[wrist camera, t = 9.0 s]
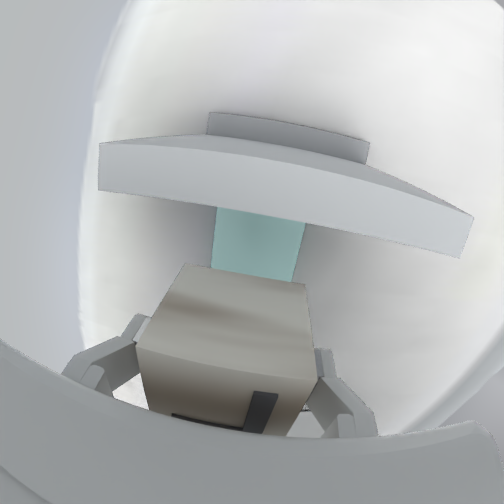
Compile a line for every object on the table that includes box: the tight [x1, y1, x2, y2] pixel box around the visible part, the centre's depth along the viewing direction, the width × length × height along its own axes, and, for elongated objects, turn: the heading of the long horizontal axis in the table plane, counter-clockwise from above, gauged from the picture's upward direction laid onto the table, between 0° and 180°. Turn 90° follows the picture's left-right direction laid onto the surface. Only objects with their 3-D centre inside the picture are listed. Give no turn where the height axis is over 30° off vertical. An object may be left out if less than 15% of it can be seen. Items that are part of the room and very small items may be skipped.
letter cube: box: [135, 263, 318, 436], centre depth 10 cm, size 5×5×5 cm
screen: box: [98, 112, 474, 259], centre depth 13 cm, size 5×12×14 cm, turn 81°
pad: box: [211, 207, 306, 282], centre depth 22 cm, size 7×7×1 cm
